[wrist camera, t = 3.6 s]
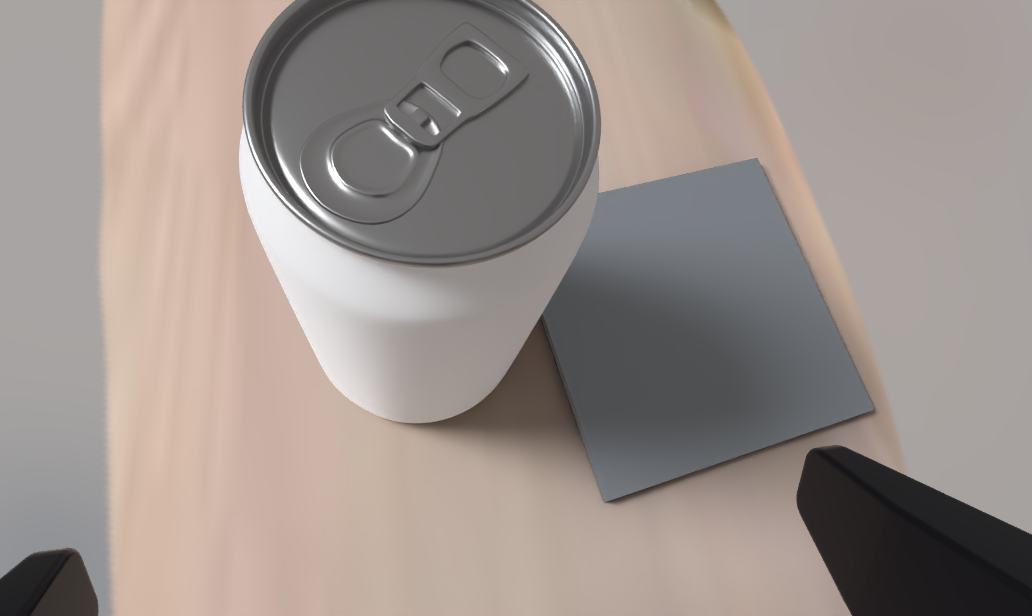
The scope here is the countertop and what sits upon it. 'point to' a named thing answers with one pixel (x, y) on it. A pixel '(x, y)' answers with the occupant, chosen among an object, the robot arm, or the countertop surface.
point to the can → (419, 187)
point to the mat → (694, 330)
